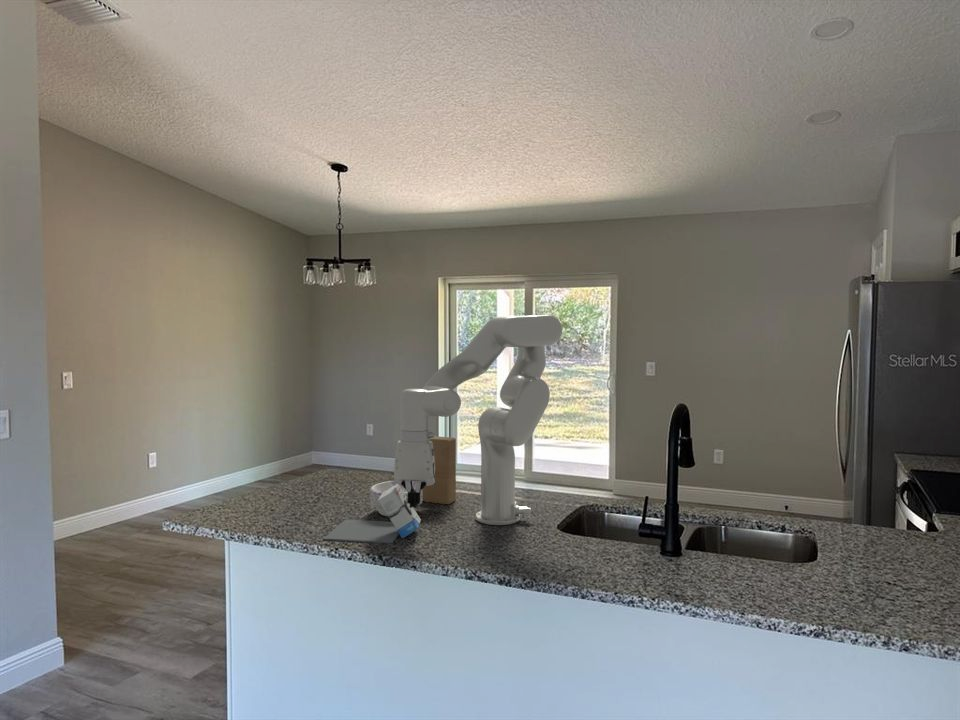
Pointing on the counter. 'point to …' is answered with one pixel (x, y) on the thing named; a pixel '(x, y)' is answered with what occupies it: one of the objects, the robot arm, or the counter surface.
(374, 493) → the paper bowls
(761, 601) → the counter surface
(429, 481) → the robot arm
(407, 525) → the ink box
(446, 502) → the decorative block
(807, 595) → the counter surface
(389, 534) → the mat
